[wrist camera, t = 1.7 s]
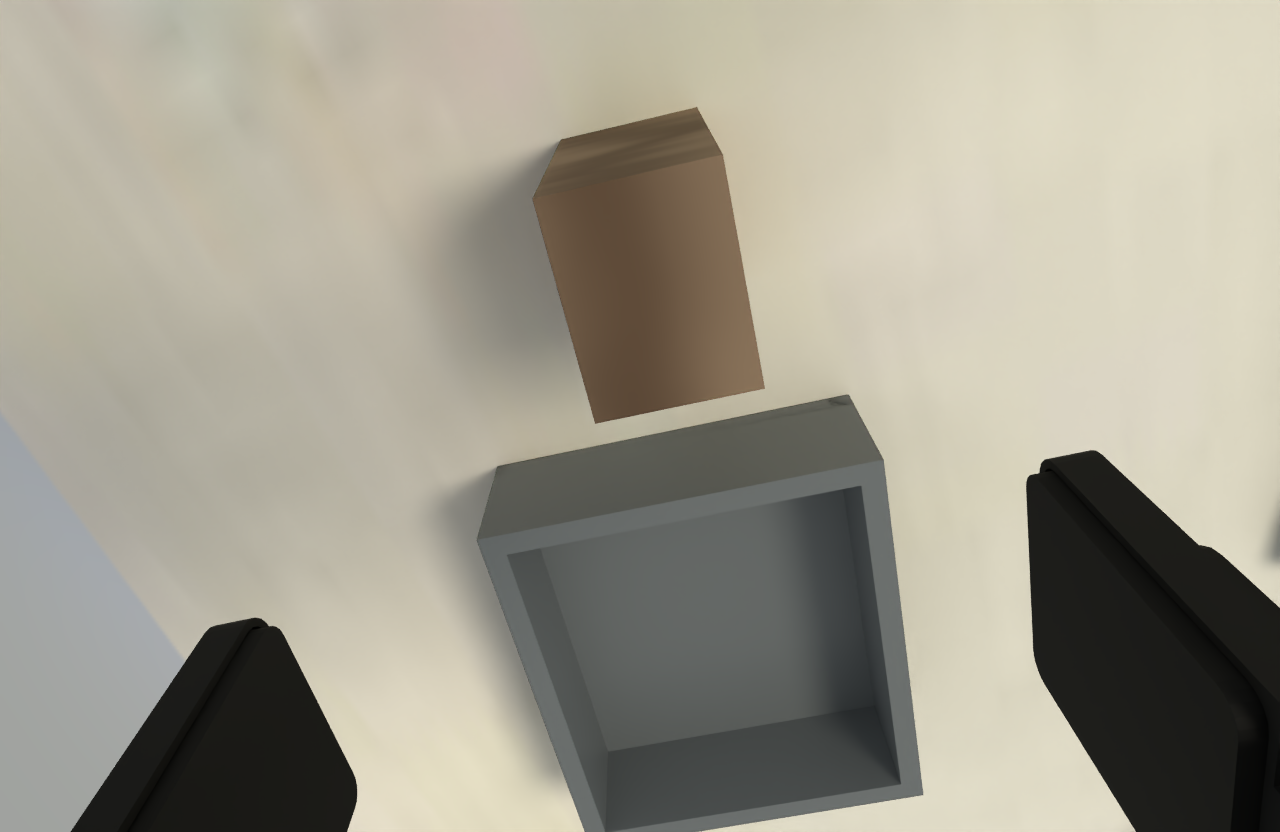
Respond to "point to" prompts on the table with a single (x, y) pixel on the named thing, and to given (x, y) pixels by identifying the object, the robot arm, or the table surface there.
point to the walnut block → (649, 266)
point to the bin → (711, 620)
